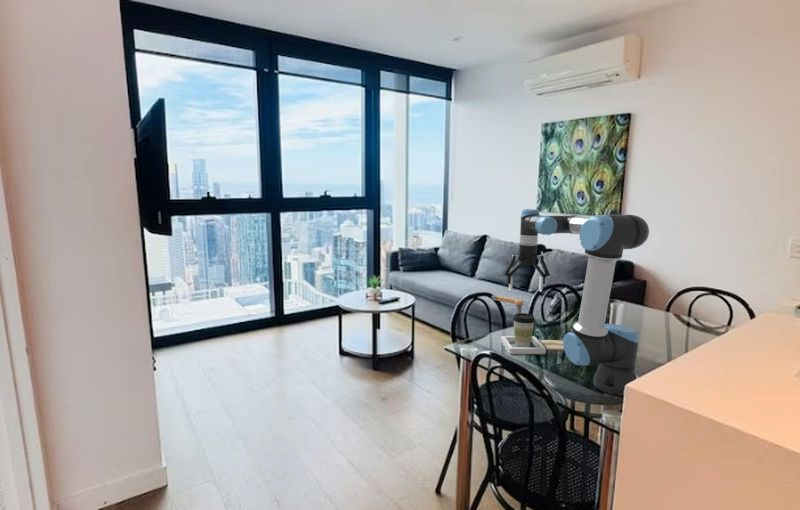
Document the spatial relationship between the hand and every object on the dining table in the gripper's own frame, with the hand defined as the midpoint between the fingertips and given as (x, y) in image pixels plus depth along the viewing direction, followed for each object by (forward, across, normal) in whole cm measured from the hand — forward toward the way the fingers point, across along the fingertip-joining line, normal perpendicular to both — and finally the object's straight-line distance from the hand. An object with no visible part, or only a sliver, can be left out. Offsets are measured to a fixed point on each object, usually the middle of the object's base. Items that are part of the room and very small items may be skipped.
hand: (525, 291), depth 202 cm
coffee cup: (+27, 0, 0) cm, 27 cm away
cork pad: (+26, -17, -2) cm, 32 cm away
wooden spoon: (+9, +4, -12) cm, 15 cm away
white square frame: (+27, 0, -1) cm, 27 cm away
